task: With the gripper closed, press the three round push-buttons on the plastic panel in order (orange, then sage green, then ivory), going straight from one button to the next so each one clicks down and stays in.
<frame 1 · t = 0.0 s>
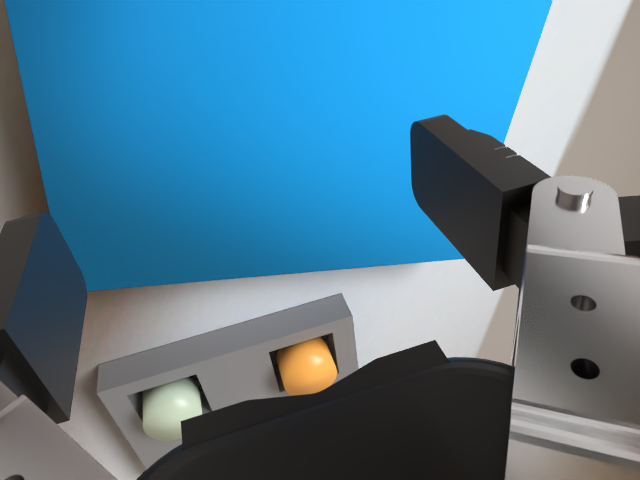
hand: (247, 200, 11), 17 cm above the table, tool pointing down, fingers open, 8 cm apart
book: (283, 125, 30), on the table
panel: (243, 381, 41), on the table
button orange: (306, 365, 38), point 3 cm above the table, slide at 0.0 cm
button sage: (172, 407, 36), point 3 cm above the table, slide at 0.0 cm
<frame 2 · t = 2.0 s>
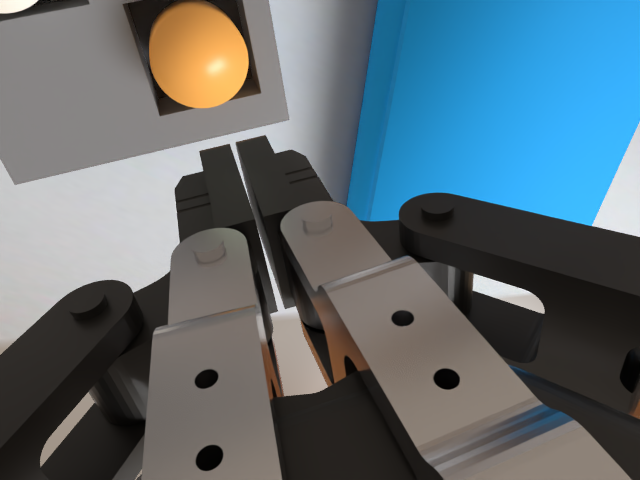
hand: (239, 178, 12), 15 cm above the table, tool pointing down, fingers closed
book: (505, 8, 28), on the table
button orange: (197, 53, 22), point 3 cm above the table, slide at 0.0 cm
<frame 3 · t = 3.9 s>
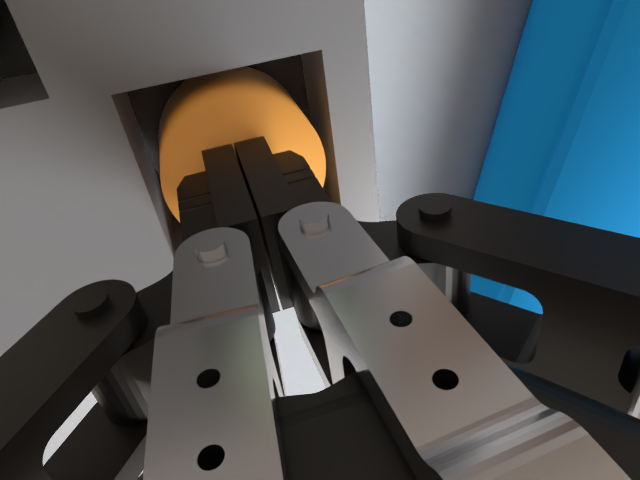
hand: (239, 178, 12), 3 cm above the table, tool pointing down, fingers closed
button orange: (239, 156, 13), point 2 cm above the table, slide at 0.9 cm, touching gripper
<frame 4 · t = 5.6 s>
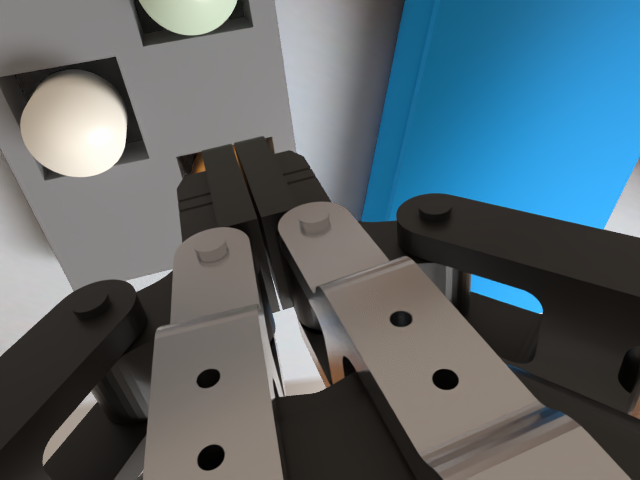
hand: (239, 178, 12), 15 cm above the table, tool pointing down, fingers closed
book: (488, 132, 33), on the table
panel: (147, 91, 25), on the table
button orange: (232, 181, 27), point 2 cm above the table, slide at 1.1 cm
button ivory: (78, 123, 22), point 3 cm above the table, slide at 0.0 cm
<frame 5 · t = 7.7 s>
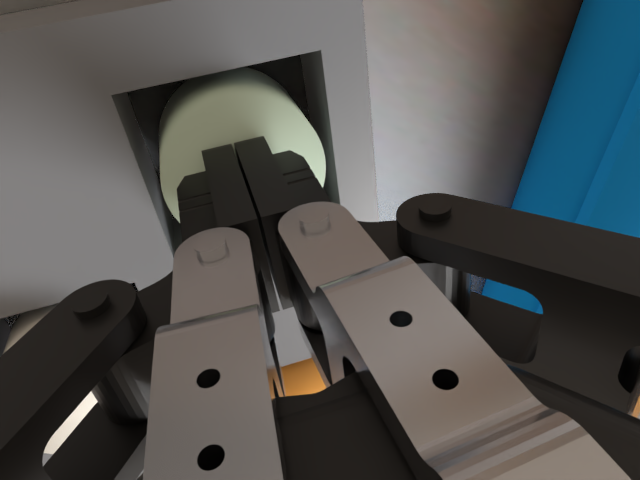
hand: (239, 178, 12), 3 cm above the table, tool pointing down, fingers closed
book: (616, 271, 25), on the table
panel: (177, 285, 17), on the table
button orange: (296, 388, 19), point 2 cm above the table, slide at 1.1 cm
button ivory: (79, 372, 15), point 3 cm above the table, slide at 0.0 cm
button sage: (239, 156, 13), point 2 cm above the table, slide at 0.8 cm, touching gripper
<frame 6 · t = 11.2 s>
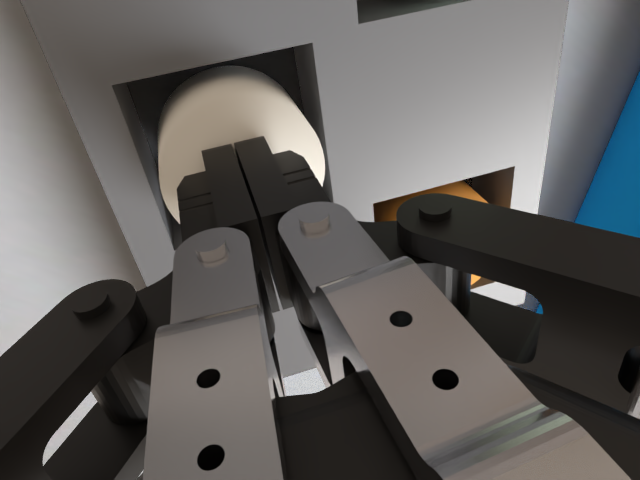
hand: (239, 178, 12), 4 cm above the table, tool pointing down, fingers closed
panel: (320, 99, 16), on the table
button orange: (432, 232, 18), point 2 cm above the table, slide at 1.1 cm
button ivory: (238, 156, 13), point 3 cm above the table, slide at 0.2 cm, touching gripper
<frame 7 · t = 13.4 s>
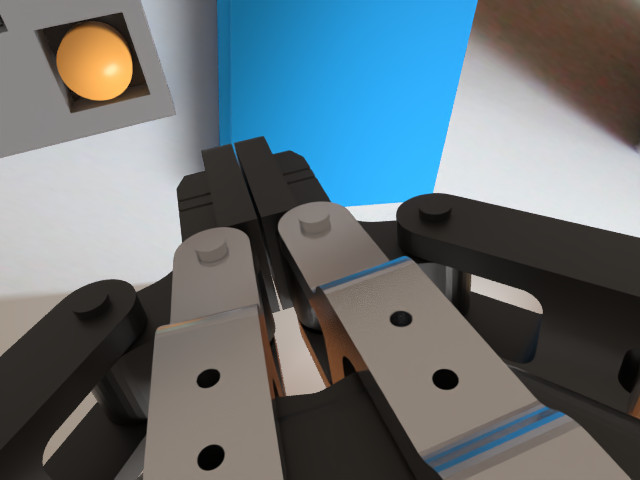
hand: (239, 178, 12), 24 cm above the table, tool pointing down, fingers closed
book: (334, 25, 36), on the table
button orange: (96, 60, 30), point 2 cm above the table, slide at 1.1 cm
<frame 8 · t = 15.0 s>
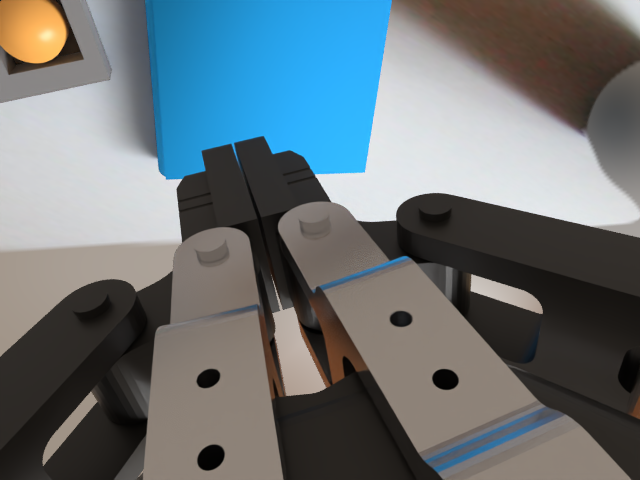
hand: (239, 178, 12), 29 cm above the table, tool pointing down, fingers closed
book: (264, 0, 38), on the table
button orange: (32, 26, 33), point 2 cm above the table, slide at 1.1 cm
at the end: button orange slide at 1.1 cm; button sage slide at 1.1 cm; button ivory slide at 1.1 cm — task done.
